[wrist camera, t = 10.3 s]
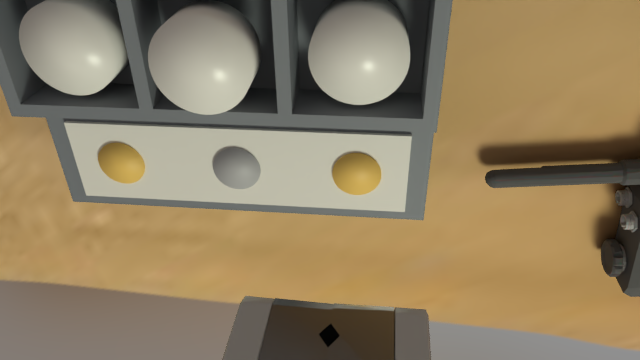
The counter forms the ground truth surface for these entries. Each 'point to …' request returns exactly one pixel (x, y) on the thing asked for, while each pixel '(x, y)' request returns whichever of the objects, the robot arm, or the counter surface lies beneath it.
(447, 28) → the pattern board
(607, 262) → the walkie-talkie
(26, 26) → the button
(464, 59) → the counter surface
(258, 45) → the middle button
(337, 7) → the button
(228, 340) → the robot arm
